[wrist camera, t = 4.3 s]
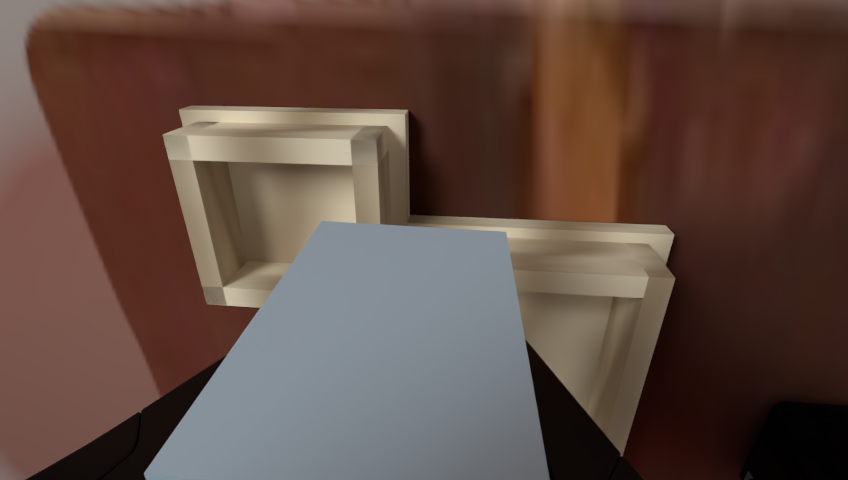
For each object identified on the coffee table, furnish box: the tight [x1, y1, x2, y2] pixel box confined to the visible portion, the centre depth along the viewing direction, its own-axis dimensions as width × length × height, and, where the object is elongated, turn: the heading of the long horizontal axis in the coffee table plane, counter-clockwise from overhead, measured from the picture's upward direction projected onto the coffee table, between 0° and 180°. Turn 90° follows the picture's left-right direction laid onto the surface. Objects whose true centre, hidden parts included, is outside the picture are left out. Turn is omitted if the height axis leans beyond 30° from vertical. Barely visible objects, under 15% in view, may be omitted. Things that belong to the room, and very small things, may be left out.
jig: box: [163, 106, 675, 456], centre depth 22 cm, size 22×21×4 cm
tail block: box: [144, 221, 550, 480], centre depth 8 cm, size 4×4×6 cm
